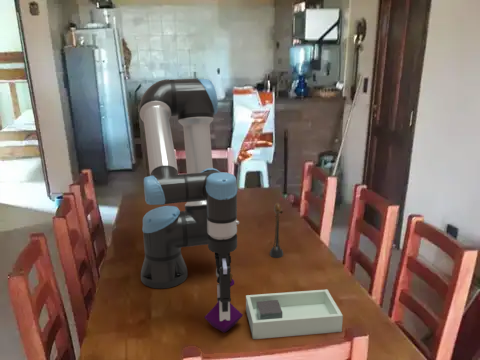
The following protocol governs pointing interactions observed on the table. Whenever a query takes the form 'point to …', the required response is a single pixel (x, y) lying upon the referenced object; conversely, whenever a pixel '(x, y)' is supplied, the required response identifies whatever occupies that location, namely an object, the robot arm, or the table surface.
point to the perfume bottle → (214, 315)
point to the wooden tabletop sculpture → (277, 234)
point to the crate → (295, 314)
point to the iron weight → (268, 310)
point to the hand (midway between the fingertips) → (223, 312)
